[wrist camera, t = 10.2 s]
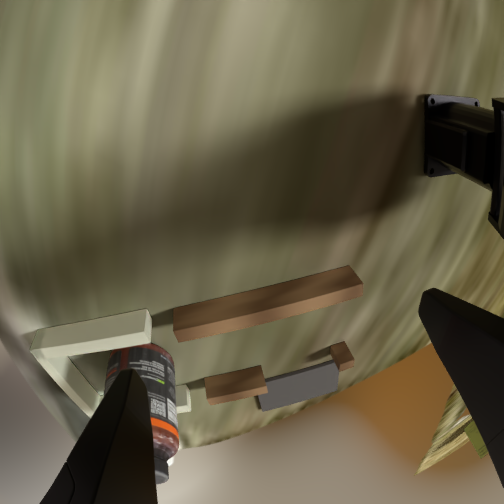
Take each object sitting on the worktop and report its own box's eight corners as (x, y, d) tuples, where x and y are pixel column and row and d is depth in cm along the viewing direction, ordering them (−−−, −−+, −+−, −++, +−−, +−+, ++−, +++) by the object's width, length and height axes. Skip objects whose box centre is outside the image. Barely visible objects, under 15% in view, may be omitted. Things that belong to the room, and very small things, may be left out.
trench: (349, 265, 24) (363, 283, 22) (343, 348, 29) (353, 366, 27) (173, 308, 22) (173, 331, 20) (207, 384, 28) (210, 405, 26)
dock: (146, 308, 22) (144, 331, 20) (189, 390, 28) (191, 411, 26) (37, 329, 21) (29, 350, 19) (96, 402, 27) (93, 421, 25)
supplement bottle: (112, 376, 25) (103, 484, 16) (107, 333, 23) (88, 458, 13) (173, 381, 27) (180, 490, 17) (177, 340, 24) (184, 467, 15)
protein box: (462, 429, 76) (480, 459, 63) (486, 405, 69) (507, 437, 56) (478, 420, 79) (495, 448, 65) (501, 396, 71) (520, 425, 58)
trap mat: (338, 358, 30) (340, 360, 29) (335, 387, 33) (336, 390, 33) (254, 381, 29) (255, 385, 29) (261, 408, 32) (262, 411, 32)
